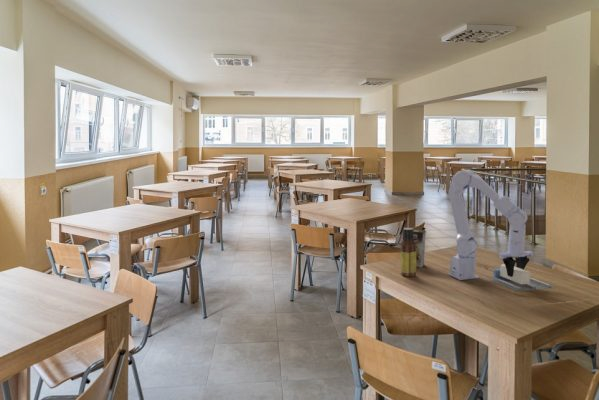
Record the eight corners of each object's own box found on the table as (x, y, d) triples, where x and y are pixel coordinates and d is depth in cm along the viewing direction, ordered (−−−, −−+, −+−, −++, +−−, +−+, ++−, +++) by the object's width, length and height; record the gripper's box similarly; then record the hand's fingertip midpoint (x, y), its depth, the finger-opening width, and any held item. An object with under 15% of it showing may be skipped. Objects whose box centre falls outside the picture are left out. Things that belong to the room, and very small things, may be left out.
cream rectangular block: (521, 284, 171) (522, 272, 170) (499, 275, 182) (500, 264, 182) (529, 283, 171) (530, 272, 171) (507, 274, 183) (508, 264, 182)
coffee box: (401, 265, 205) (402, 230, 203) (404, 262, 211) (405, 228, 209) (421, 268, 201) (422, 232, 199) (424, 264, 207) (426, 229, 205)
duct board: (516, 292, 168) (517, 280, 167) (488, 280, 183) (488, 269, 183) (556, 288, 172) (557, 277, 172) (525, 276, 188) (526, 266, 187)
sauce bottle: (414, 273, 193) (416, 227, 190) (417, 277, 187) (418, 230, 184) (399, 272, 193) (400, 226, 191) (401, 277, 187) (402, 229, 185)
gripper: (507, 244, 169) (505, 279, 171) (540, 242, 173) (537, 277, 175) (495, 240, 176) (493, 274, 178) (526, 238, 180) (524, 272, 181)
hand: (514, 275), depth 177 cm, fingers closed on cream rectangular block, 4 cm apart
